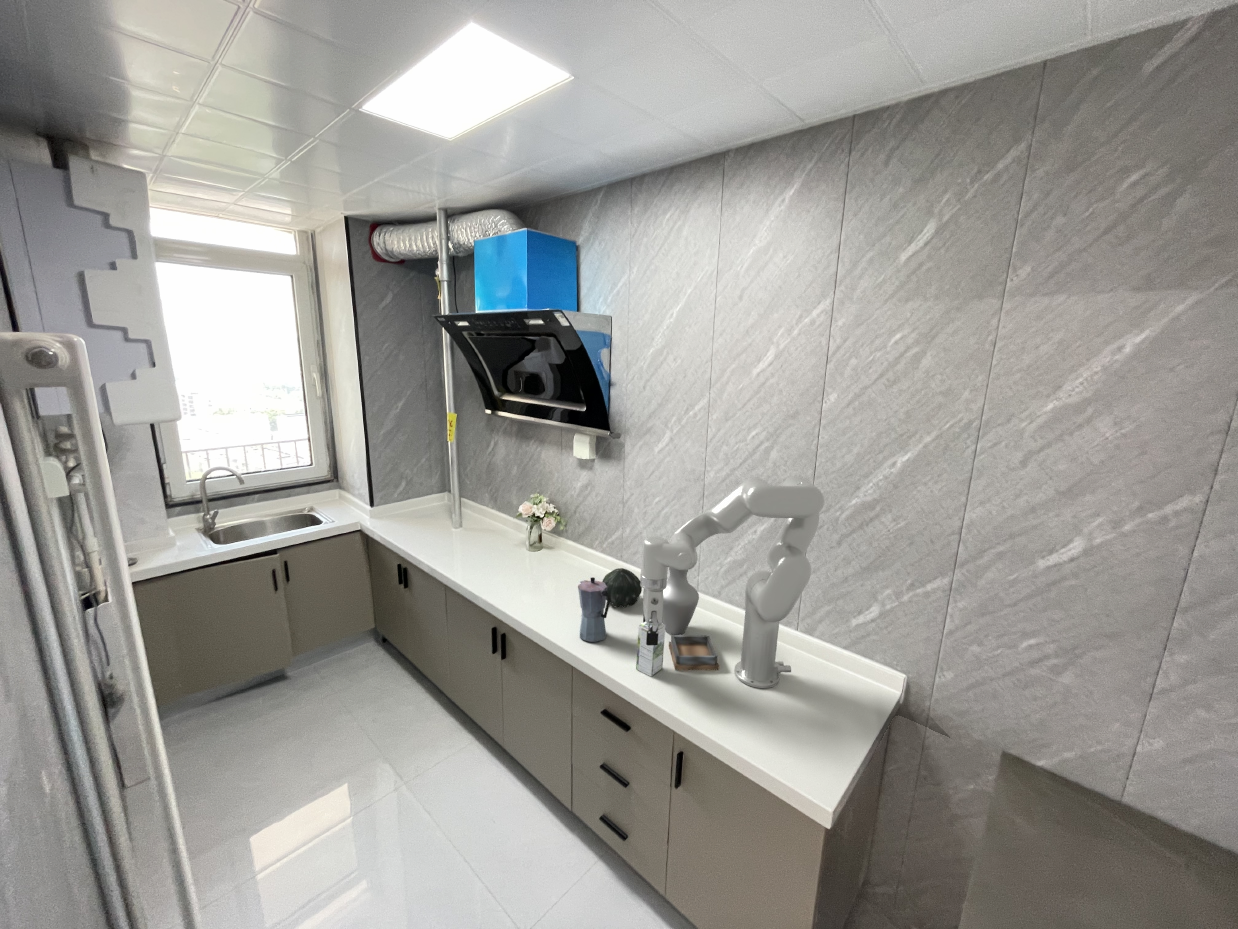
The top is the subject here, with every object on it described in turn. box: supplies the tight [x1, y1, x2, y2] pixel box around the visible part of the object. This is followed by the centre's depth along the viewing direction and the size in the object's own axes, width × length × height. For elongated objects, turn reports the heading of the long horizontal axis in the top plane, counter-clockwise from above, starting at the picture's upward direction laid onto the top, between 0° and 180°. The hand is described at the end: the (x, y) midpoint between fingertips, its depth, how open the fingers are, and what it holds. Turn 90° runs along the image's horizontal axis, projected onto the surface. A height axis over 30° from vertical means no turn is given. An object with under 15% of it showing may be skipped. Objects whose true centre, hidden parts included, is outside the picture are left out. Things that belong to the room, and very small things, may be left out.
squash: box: [601, 567, 643, 608], centre depth 190 cm, size 14×15×15 cm
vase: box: [662, 567, 700, 636], centre depth 170 cm, size 14×14×25 cm
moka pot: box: [577, 577, 611, 643], centre depth 165 cm, size 10×15×20 cm, turn 45°
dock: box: [668, 634, 720, 671], centre depth 157 cm, size 13×13×4 cm
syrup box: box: [635, 620, 666, 678], centre depth 149 cm, size 6×6×14 cm
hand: (649, 635), depth 148 cm, fingers open, 9 cm apart
